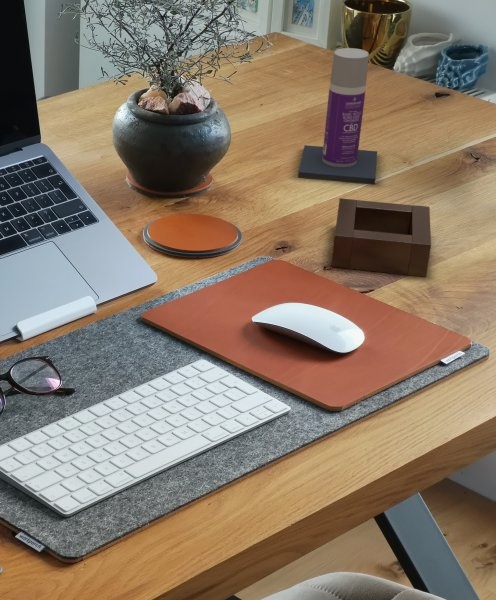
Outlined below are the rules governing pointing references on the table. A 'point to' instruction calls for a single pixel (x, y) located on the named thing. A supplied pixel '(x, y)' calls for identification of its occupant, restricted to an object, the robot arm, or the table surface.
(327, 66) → the table surface
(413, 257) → the stand
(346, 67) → the container
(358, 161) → the mat
